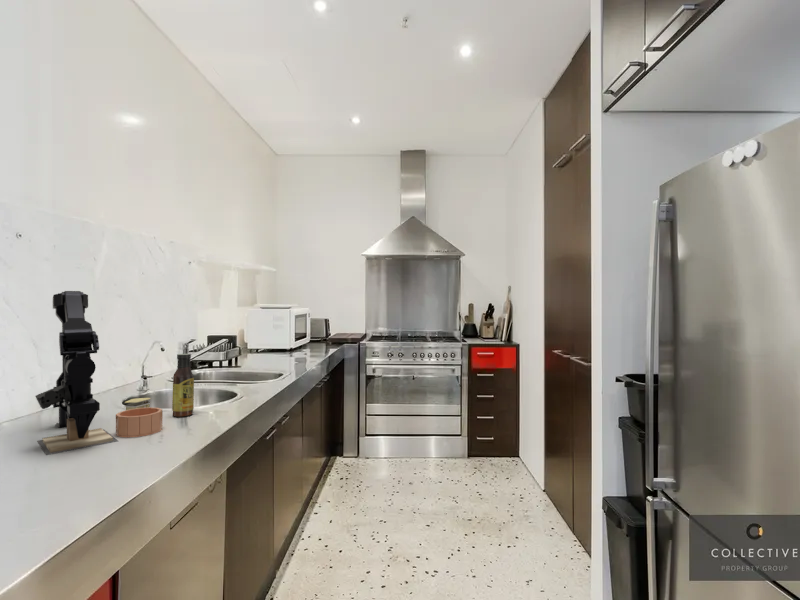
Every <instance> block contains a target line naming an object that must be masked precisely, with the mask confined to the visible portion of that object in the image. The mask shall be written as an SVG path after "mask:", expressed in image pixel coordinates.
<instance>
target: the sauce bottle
mask: <svg viewBox="0 0 800 600" xmlns="http://www.w3.org/2000/svg"><path fill="white" fill-rule="evenodd" d="M176 355H177V356H176V359H177V368H176V370H175V372H174V373H173V377H172V378H173V379H172V401H171V402H172V405H171V406H172V408H171V410H172V416H173V417H177V418H181V417H188V416H191V415H193V413H194V409H195V408H194V404H195V403H194V402H195V400H194V398H195V397H194V396H195V377H194V374H193V371H192V368H191V358H192V354H191V353H178V354H176Z"/></svg>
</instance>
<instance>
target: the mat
mask: <svg viewBox="0 0 800 600" xmlns="http://www.w3.org/2000/svg"><path fill="white" fill-rule="evenodd" d="M102 429H103V428H102ZM103 430H104V431H105V432H106V433H108V434H109V435H110V436H111V437H113V441H109V442H104V443H99V444H93V445H88V446H83V447H78V448H73V449H67V450H62V451H57V452H52V453H50V451H49V450H48V448H47V447H46V446H45V444H44V443H43V441H42V439H41V440H40V439H39V440H36V442H37V444H38V445H39V446H40V448H41V450H42V451H43V452H44V454H45V456H50V455H55V454H56V455H57V454H60V453H64V452H65V453H66V452H71V451H75V450H77V451H78V450H82V449H85V448H92V447H96V446H102V445H107V444H112V443H117V442H119V440H118V439H116V437H114V436H113V435H112V434H110V433H109V432H108V431H107V430H106V429H103Z"/></svg>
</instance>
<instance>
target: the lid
mask: <svg viewBox="0 0 800 600" xmlns="http://www.w3.org/2000/svg"><path fill="white" fill-rule="evenodd" d="M89 428H90V427H89ZM89 428H88V430H87V432H86V434H85V436H84V438H78V434H77V430H76V425H75V420H74V419H73V418H70V419H67V427H66V434H60V435H53V436H49V437H48V436H47V437H42V439H41V440H42V441H43V443H44V444H45V446H46V447H47V448H48V450H49V451H50V453H52V452H57V451H62V450H67V449H73V448H78V447H83V446H88V445H93V444H99V443H104V442H109V441H113V437H114V436H113V437H111V436H110V435H111V434H110V433H109V432H108V433H109V434H110V435H109V434H108V433H106V432H105V431H106V430H105V429H104V430H105V431H104V430H103V428H101V427H100V428H95V429H94V428H93V429H89Z"/></svg>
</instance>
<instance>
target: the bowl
mask: <svg viewBox="0 0 800 600" xmlns="http://www.w3.org/2000/svg"><path fill="white" fill-rule="evenodd" d="M162 429H163V409H162V408H160V407H152V406H151V407H148V408H136V409H130V410H126V409H125V410H123V411H122V410H121V411H119V412H118V413H116V414H115V434H116V436H117V437H120V438H137V437H139V438H140V437H146V436H151V435H154V434H156V433H157V434H158V433H160V432H161V431H162Z"/></svg>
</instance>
